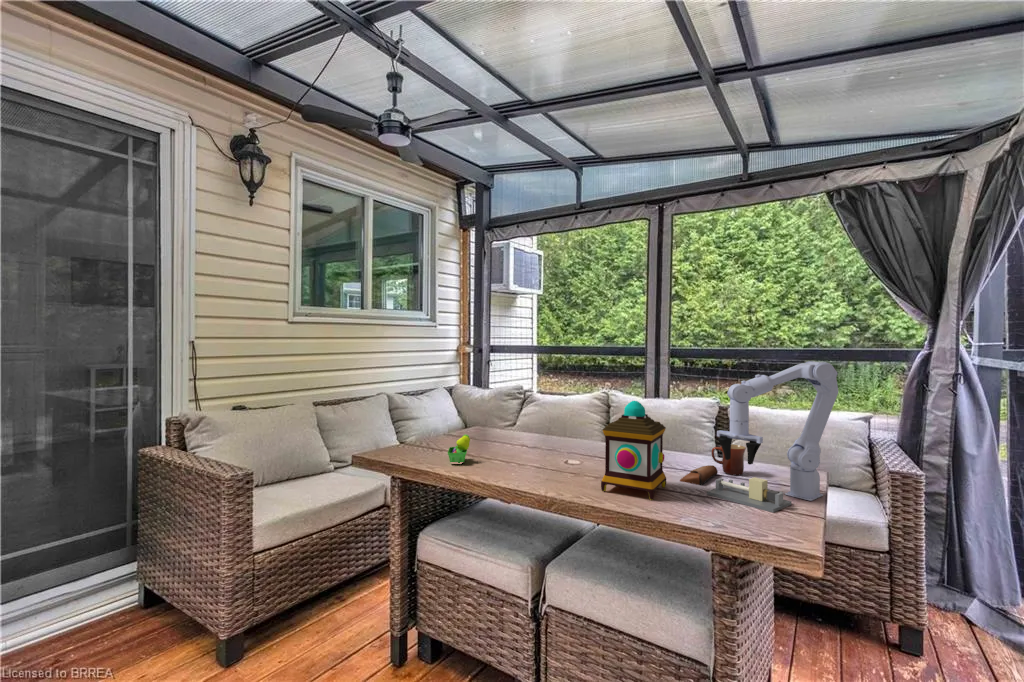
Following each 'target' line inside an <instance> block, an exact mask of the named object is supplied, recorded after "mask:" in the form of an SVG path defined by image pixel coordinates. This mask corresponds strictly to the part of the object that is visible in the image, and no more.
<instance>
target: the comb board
mask: <svg viewBox="0 0 1024 682" xmlns="http://www.w3.org/2000/svg"><path fill="white" fill-rule="evenodd" d="M706 495H707V496H711V497H714V498H715V497H716V498H719V499H723V500H726V501H730V502H732V503H733V502H734V503H737V504H740V505H743V506H747V507H751V508H755V509H758V510H762V511H765V512H769V513H772V514H774V513H777V511H780V510H783V509H784V508H787V507H789V506H791V505H792V501H791V500H788V499H784V492H783V491H780V490H779V491H777V490H773V489H770V488H768V490H766V489H765V490H764V491H763V496H764V498H767V500H766V499H763V501H759V500H755V499H751V498H749V486H746V484H745V482H740V483H739V484H736V483H734V480H733V479H728V481H725V480H724V478H722V477H720V478H717V479H715V488H712V489H710V490H706Z"/></svg>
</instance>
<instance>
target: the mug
mask: <svg viewBox="0 0 1024 682" xmlns="http://www.w3.org/2000/svg"><path fill="white" fill-rule="evenodd" d="M715 450H718V451H720V452H722V459H721V460H719V459H717V458H716V457H715ZM746 451H747V446H746V447H745V446H744V445H740V444H733V443H731V458H730V459H729V460H726V459H725V455H724V452H723V449H722V447H721V446H714V447H712V449H711V458H712V459H713V461H714V462H716V463H717V464H719V465H722V466H721V467H722V471H723V473H724V474H725V475H730V476H741V475H743V474H744V470H745V467H744V466H745V464H744V463H745V460H744V459H745V457H744V456H745V452H746Z"/></svg>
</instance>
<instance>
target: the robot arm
mask: <svg viewBox="0 0 1024 682" xmlns="http://www.w3.org/2000/svg"><path fill="white" fill-rule="evenodd" d="M838 375H839V373H838V371H837V370H836V368H835V367H834V366H833V364H832V363H829V362H827V361H822V362H821V361H813V360H808V361H806V362H802V363H798V364H796V365H794V366H791V367H788V368H786V369H784V370H781V371H780V372H779V371H778V372H777V373H774V374H772V375H769V376H768V375H766V374H755V375H754V378H751V379H748V380H741V381H740V382H741V383H733V384H732V385H730V387H729V388H728V390H727V392H726V393H727V396H728V398H729V431H728V430H720V429H719V430H717V431H716V437H718V438H717V441H718V442H719V445H720V447H722V449H723V452H724V455H725V459H726V460H729V459H730V458H731V444H733V440H739V441H744V442H746V443H745V446H746V451H747V465H753V464H754V460H755V457H756V455H757V452H758V451H759V448H760V447H761V444H763V442H764V441H763V440H764V437H763V436H759V435H754V434H750V432H749V431H750V424H749V423H750V422H749V421H750V414H749V413H750V406H749V403H750V400H751V399H752V398H755V397H758V396H761V395H764V394H766V393H769V392H772V390H773V388H774V386H777V385H780V384H782V383H783V384H784V383H786V382H789V381H792V380H795V379H801V378H802V379H805V380H806V381H808V382H809V383H810V384H811V385H812V386H813V388H814V389H815V391H816V395H815V398H814V400H813V402H812V405H811V408H810V411H809V413H808V415H807V419H806V421H805V424H804V426H803V429H802V432H801V433H800V436H799V437H798V438H796V439H795V440H794V442H793V444H792V445H791V446H790V447H789V448H788V450H787V452H786V456H787V458H788V461H790V465H789V467H790V470H789V472H790V474H789V484H790V485H789V491H787V492H785V493H784V495H786V496H789V497H793V498H797V499H800V500H801V499H802V500H806V501H815V500H816V499H817V500H818V498H821V497H823V496H824V494H823V493H821V491H820V490H821V487H820V486H821V484H820V483H821V482H820V481H821V475H820V473H819V471H818V470H817V469H818V468H819V467H820V464H821V458H820V457H821V456H820V455H821V453H822V450H821V447H820V442H821V439H822V436H823V433H824V431H825V429H826V426H827V424H828V421H829V418H830V415H831V412H832V411H833V410H832V409H833V407H834V405H835V403H836V400H837V397H838V395H839V386H838V380H837V377H838Z"/></svg>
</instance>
